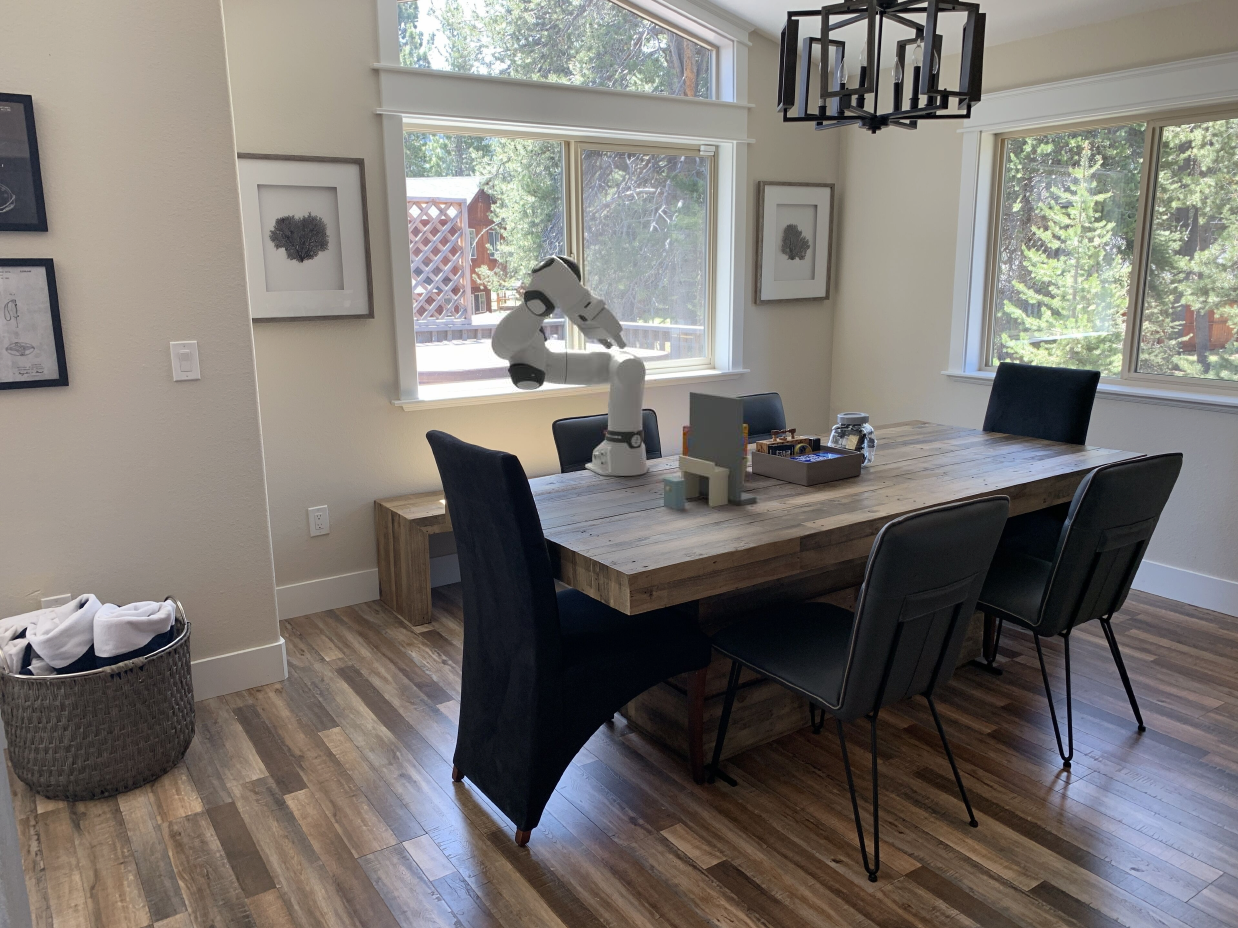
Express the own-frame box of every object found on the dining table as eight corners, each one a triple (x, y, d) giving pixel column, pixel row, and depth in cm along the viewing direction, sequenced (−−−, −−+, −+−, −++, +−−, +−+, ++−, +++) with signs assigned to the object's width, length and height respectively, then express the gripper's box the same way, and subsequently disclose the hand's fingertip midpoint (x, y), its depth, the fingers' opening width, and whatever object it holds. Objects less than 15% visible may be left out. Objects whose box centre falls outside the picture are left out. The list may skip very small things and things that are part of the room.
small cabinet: (661, 506, 252) (661, 478, 251) (673, 504, 255) (673, 476, 253) (673, 510, 249) (673, 481, 247) (684, 507, 251) (685, 479, 249)
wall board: (671, 496, 264) (672, 393, 258) (708, 489, 273) (710, 389, 267) (718, 509, 248) (720, 401, 242) (756, 501, 257) (759, 396, 251)
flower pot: (724, 490, 271) (724, 461, 270) (712, 483, 280) (713, 455, 279) (753, 487, 274) (754, 459, 272) (741, 481, 283) (741, 454, 281)
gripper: (561, 319, 245) (595, 355, 250) (588, 316, 226) (623, 356, 231) (577, 302, 246) (610, 339, 251) (604, 298, 228) (640, 338, 232)
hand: (616, 347), depth 241 cm, fingers open, 8 cm apart
